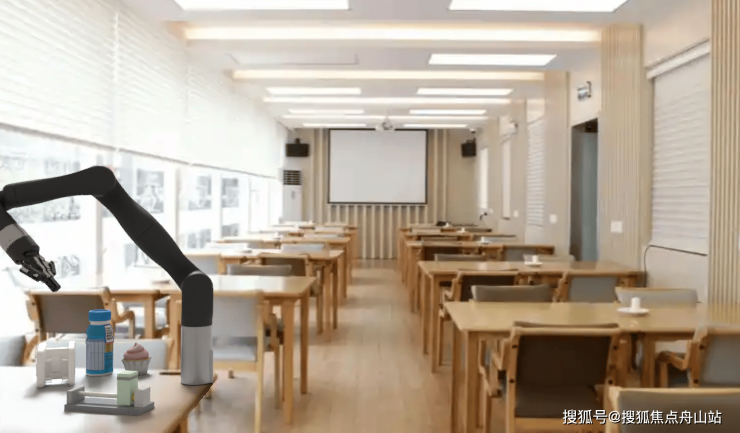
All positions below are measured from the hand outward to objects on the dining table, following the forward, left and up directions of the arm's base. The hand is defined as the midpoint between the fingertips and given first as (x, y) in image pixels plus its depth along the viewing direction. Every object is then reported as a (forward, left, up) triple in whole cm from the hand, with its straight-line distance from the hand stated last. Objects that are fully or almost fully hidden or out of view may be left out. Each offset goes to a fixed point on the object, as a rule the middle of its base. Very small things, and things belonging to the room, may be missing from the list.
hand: (57, 289), depth 204 cm
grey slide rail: (-14, +14, -30) cm, 36 cm away
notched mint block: (-18, +16, -28) cm, 37 cm away
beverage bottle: (-10, -31, -30) cm, 45 cm away
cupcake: (-21, -28, -30) cm, 46 cm away
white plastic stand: (+2, -21, -30) cm, 37 cm away
